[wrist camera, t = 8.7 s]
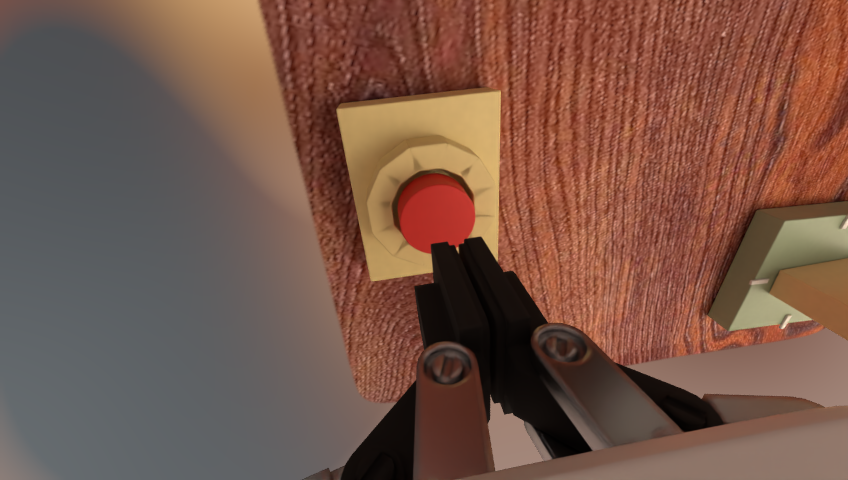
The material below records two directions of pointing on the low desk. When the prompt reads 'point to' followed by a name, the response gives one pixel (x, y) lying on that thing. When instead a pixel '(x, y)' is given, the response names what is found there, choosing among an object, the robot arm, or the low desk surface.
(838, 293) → the tan wedge box
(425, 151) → the button box
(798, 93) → the low desk surface
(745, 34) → the low desk surface
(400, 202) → the button
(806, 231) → the panel
